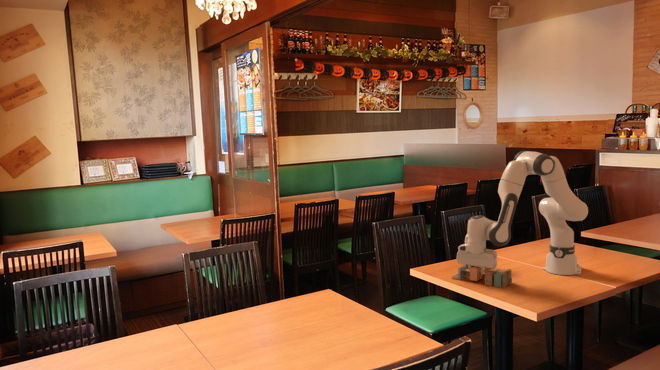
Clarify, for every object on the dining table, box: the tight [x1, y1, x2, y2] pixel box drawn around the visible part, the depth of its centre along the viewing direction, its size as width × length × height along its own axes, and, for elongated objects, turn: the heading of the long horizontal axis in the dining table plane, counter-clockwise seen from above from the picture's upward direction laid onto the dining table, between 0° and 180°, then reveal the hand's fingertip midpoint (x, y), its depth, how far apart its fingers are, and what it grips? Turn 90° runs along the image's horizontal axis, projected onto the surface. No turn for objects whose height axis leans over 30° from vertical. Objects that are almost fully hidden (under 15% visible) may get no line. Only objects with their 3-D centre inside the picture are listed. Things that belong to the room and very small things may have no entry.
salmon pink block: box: [469, 266, 483, 282], centre depth 257 cm, size 8×4×6 cm, turn 142°
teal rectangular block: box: [493, 270, 506, 288], centre depth 250 cm, size 8×4×6 cm, turn 142°
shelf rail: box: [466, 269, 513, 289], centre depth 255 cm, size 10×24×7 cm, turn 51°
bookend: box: [451, 264, 467, 281], centre depth 263 cm, size 8×5×6 cm, turn 142°
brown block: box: [484, 268, 499, 286], centre depth 253 cm, size 8×4×6 cm, turn 142°
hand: (476, 274), depth 257 cm, fingers closed on salmon pink block, 3 cm apart
